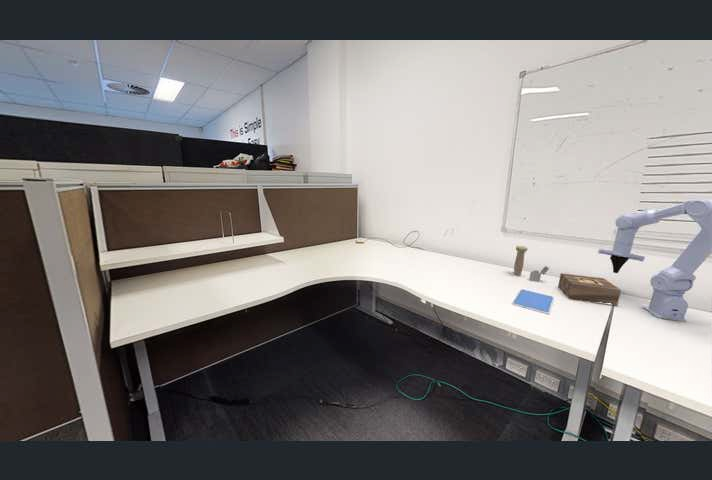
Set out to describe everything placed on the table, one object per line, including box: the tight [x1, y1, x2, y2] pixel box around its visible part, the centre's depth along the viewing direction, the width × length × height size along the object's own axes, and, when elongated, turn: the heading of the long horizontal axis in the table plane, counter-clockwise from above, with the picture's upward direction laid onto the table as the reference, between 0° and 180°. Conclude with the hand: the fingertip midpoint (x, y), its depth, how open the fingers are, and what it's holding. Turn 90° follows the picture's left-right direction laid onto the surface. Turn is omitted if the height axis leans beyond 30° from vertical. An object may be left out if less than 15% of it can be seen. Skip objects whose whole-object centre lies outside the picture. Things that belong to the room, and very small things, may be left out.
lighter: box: [529, 265, 550, 282], centre depth 131 cm, size 7×2×8 cm, turn 74°
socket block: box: [557, 272, 622, 307], centre depth 115 cm, size 14×16×7 cm
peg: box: [582, 279, 595, 283], centre depth 115 cm, size 4×4×6 cm
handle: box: [513, 245, 528, 276], centre depth 138 cm, size 5×6×15 cm
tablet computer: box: [511, 289, 555, 315], centre depth 109 cm, size 19×13×1 cm, turn 139°
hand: (615, 272), depth 118 cm, fingers closed
